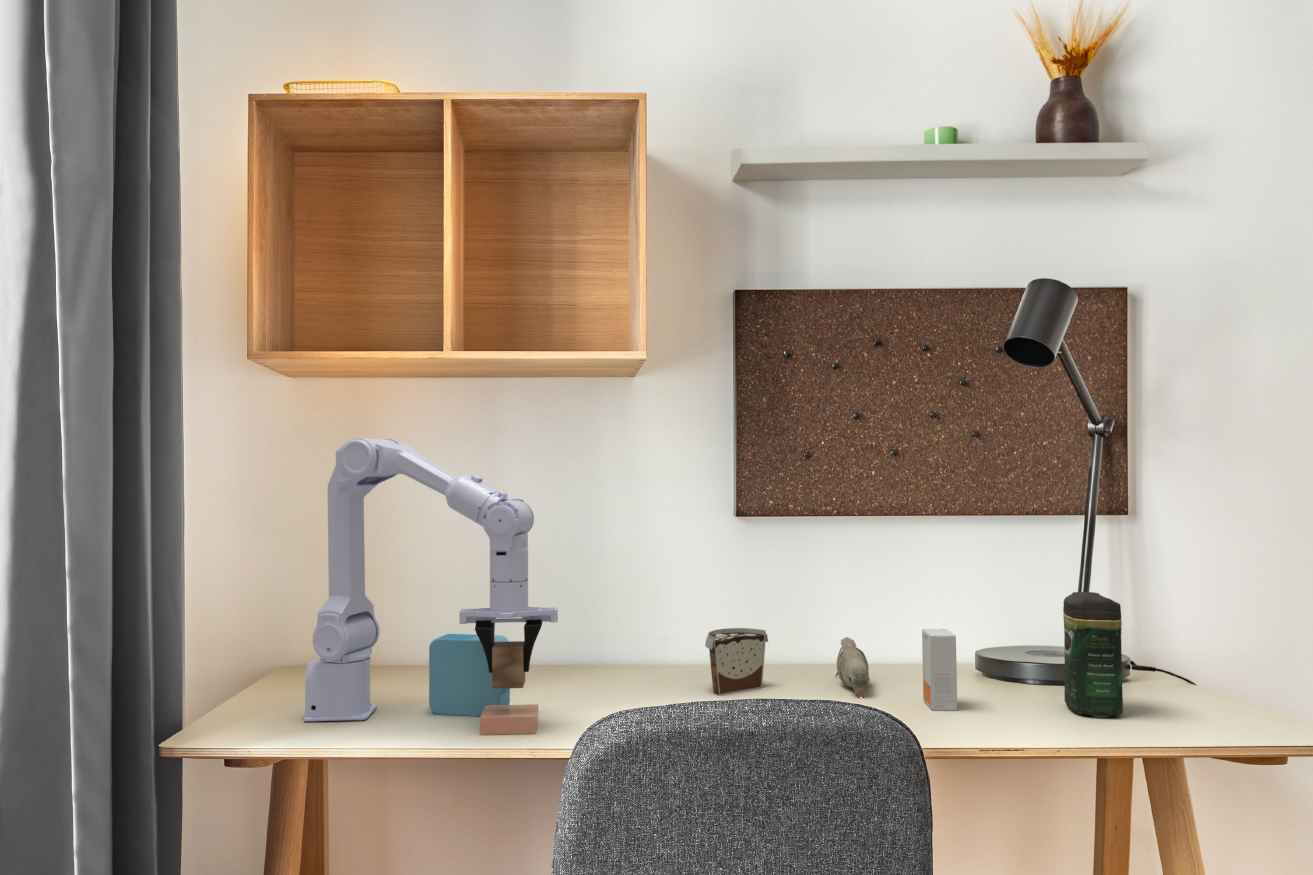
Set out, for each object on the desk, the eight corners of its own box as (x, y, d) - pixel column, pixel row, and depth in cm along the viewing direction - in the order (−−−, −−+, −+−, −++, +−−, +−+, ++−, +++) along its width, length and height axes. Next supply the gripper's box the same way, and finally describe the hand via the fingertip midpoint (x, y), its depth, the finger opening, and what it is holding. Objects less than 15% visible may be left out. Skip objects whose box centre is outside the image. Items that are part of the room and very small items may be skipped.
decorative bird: (844, 699, 156) (844, 654, 156) (832, 677, 172) (831, 636, 172) (877, 699, 155) (876, 654, 155) (861, 677, 171) (861, 636, 171)
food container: (747, 680, 169) (746, 625, 169) (768, 686, 164) (768, 630, 164) (691, 689, 162) (691, 631, 163) (711, 696, 157) (711, 637, 158)
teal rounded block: (510, 710, 149) (510, 635, 150) (500, 717, 145) (500, 640, 145) (440, 706, 152) (440, 633, 152) (428, 714, 147) (428, 638, 147)
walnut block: (492, 688, 137) (492, 647, 137) (495, 681, 141) (495, 641, 141) (523, 687, 137) (522, 647, 137) (525, 680, 141) (525, 641, 142)
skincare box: (922, 701, 154) (921, 628, 154) (948, 701, 153) (947, 628, 154) (931, 710, 147) (929, 634, 148) (958, 711, 147) (957, 635, 148)
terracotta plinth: (480, 734, 135) (480, 717, 136) (485, 721, 142) (485, 705, 142) (535, 733, 136) (535, 716, 136) (538, 720, 143) (538, 704, 143)
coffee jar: (1130, 720, 141) (1127, 597, 142) (1074, 717, 143) (1072, 596, 143) (1111, 704, 151) (1109, 589, 151) (1059, 701, 152) (1057, 588, 153)
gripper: (456, 584, 135) (456, 677, 135) (556, 582, 136) (556, 675, 136) (463, 578, 142) (463, 667, 142) (558, 576, 143) (558, 665, 143)
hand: (509, 670), depth 139 cm, fingers closed on walnut block, 4 cm apart
